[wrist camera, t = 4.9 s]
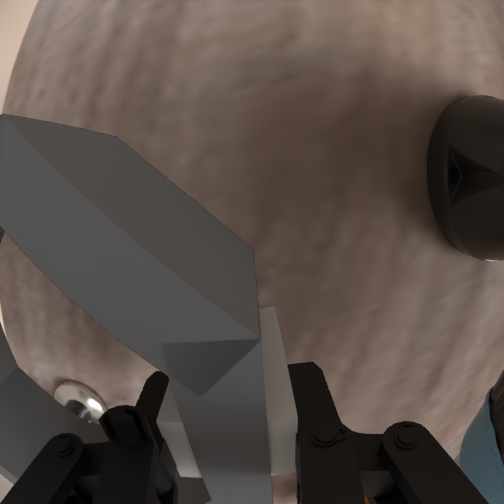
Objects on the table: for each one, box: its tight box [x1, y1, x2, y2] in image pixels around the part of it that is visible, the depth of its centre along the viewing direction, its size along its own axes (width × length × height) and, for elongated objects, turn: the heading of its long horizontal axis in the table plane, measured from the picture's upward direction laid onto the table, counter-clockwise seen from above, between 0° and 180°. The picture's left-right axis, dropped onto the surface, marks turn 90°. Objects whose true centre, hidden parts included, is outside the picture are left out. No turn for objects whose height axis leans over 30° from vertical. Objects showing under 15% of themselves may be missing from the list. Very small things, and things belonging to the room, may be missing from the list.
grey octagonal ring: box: [0, 114, 273, 504], centre depth 10 cm, size 18×18×7 cm
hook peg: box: [54, 380, 108, 424], centre depth 18 cm, size 6×6×16 cm
